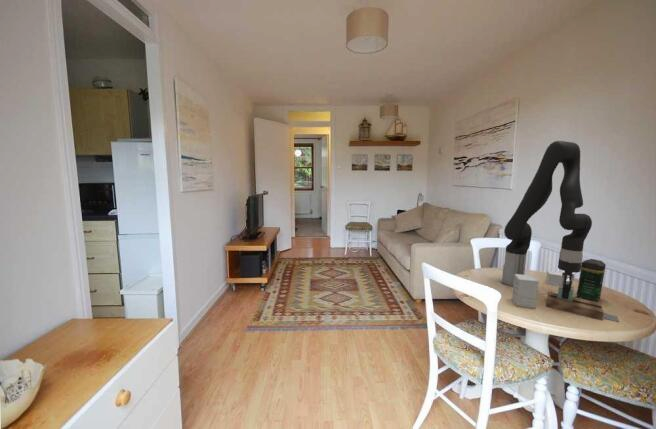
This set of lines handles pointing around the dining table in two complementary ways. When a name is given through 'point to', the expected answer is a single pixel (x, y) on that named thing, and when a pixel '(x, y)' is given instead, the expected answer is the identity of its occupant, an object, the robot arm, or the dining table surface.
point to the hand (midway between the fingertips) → (564, 297)
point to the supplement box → (525, 290)
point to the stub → (561, 293)
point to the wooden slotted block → (576, 306)
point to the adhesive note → (554, 278)
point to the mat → (610, 317)
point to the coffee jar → (591, 279)
